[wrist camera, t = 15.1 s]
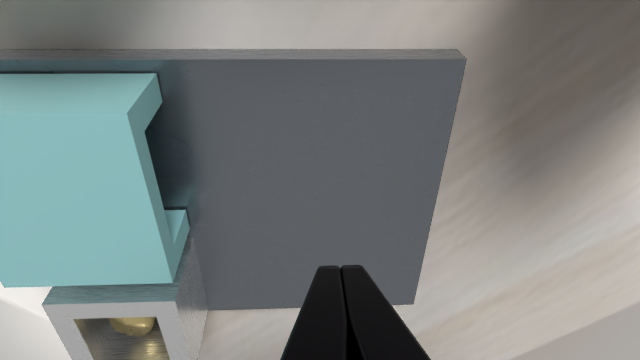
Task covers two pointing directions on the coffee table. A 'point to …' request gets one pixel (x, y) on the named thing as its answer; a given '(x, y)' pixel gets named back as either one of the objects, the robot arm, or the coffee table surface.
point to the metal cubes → (290, 160)
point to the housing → (82, 183)
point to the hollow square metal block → (133, 301)
